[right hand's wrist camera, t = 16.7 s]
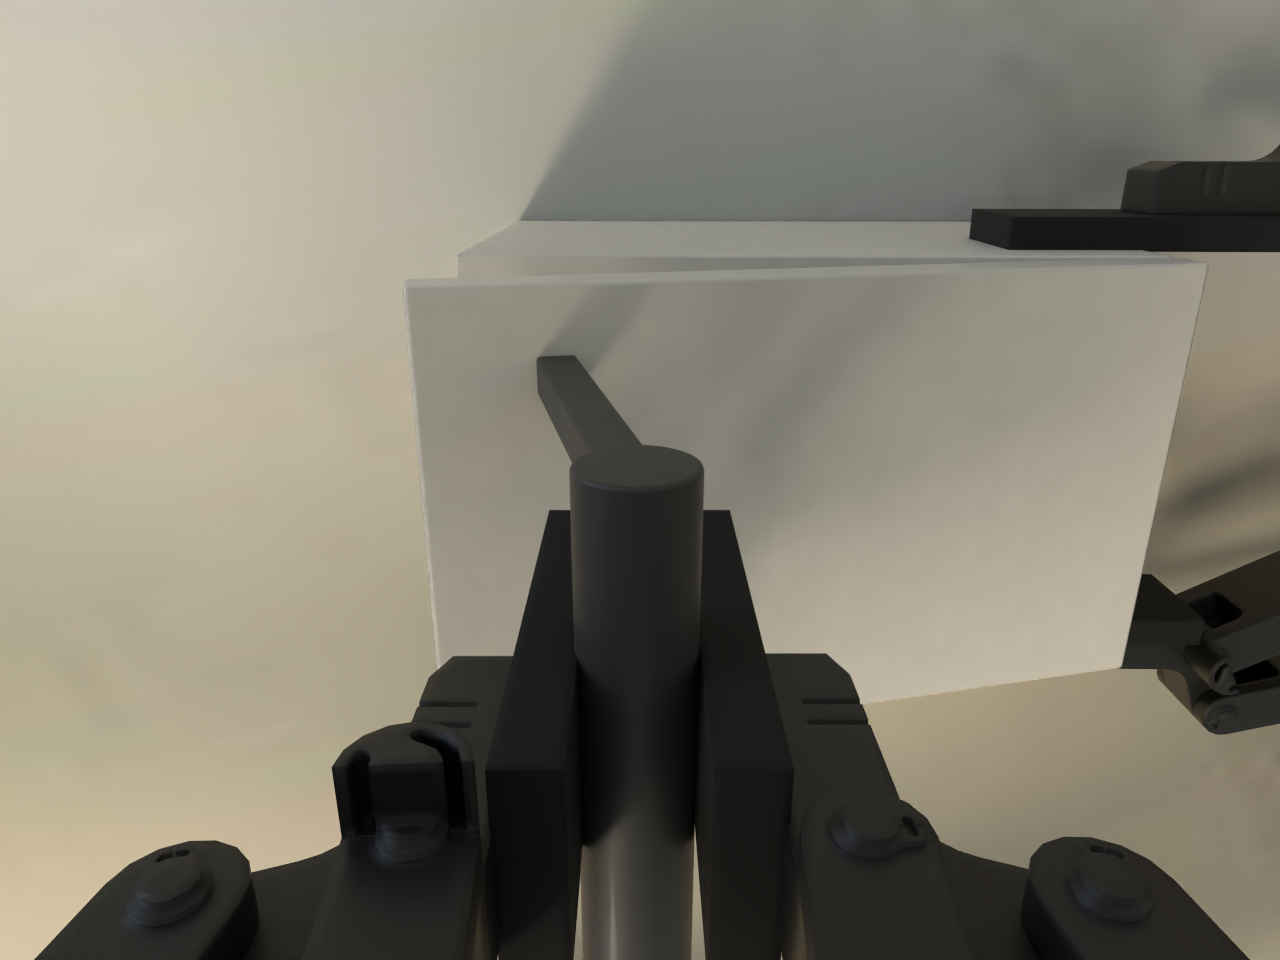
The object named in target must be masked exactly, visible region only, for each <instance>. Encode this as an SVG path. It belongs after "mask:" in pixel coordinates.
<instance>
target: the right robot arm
mask: <svg viewBox="0 0 1280 960" xmlns="http://www.w3.org/2000/svg"><path fill="white" fill-rule="evenodd" d="M332 773H333V780H334V787H335V794H336V801H337V807H338V814H339V821H340V828H341V835H342V839H341V842H340V845H338V846H336V847H334V848H332V849H330V850H328V851H326V852H324V853H322V854H320V855H317V856H314V857H311V858H307V859H304V860H301V861H298V862H294V863H289V864H285V865H281V866H277V867H273V868H269V869H264V870H260V871H256V872H252V873H251V869H250V864H249V861H248V860H247V858H246V857H245V856H244V855H243V854H242V853H241V852H240V850H239V849H238V848H237V847H234V846H231V845H228V844H225V843H222V842H219V841H188V842H184V843H180V844H177V845H173V846H169V847H165V848H162V849H158V850H156V851H154V852H153V853H151V854H149V855H147V856H145V857H143V858H141V859H139V860H137V861H135V862H133V863H131V864H129V865H128V866H127V867H126V868H124V869H123V870H122V871H121V872H120V873H118V874H117V875H116V876H115V877H113V878H112V879H111V880H110V881H109V882H107V883H106V884H105V885H104V886H103V887H102V888H101V889H100V890H99V892H98V893H97V894H96V895H95V896H94V897H93V898H92V899H91V900H90V901H89V902H88V903H87V904H86V905H85V906H84V907H83V909H82V910H81V911H80V912H79V913H78V914H77V915H76V916H75V917H74V918H73V919H72V920H71V921H70V922H69V923H68V924H67V926H66V927H65V928H64V929H63V930H62V931H61V932H60V933H59V934H58V935H57V936H56V937H55V938H54V939H53V940H52V941H51V943H50V944H49V945H48V946H47V947H46V948H45V949H44V950H43V951H42V952H41V953H40V954H39V955H38V956H37V957H36V958H35V959H34V960H497V957H498V958H499V960H573V958H574V945H575V933H576V921H577V908H578V896H579V884H580V871H581V859H582V846H583V840H582V804H581V768H580V732H579V696H578V660H577V657H576V654H575V651H574V623H573V588H572V552H571V517H570V510H549V513H548V517H547V521H546V525H545V529H544V533H543V537H542V541H541V545H540V549H539V553H538V557H537V561H536V565H535V570H534V574H533V578H532V582H531V586H530V590H529V594H528V598H527V602H526V606H525V610H524V614H523V618H522V622H521V626H520V630H519V634H518V638H517V642H516V646H515V650H514V654H513V656H453V657H451V658H450V659H449V660H448V661H447V662H446V663H445V664H444V665H442V666H441V667H440V668H439V669H438V670H437V671H436V672H435V673H434V674H432V675H431V676H430V677H429V679H428V682H427V684H426V687H425V689H424V692H423V694H422V697H421V699H420V702H419V707H417V710H416V712H415V715H414V717H413V720H412V722H410V723H404V724H398V725H391V726H387V727H384V728H382V729H379V730H377V731H374V732H372V733H369V734H367V735H364V736H362V737H361V738H360V739H358V740H357V741H355V742H354V743H353V744H351V745H350V746H348V747H347V748H346V749H344V750H343V752H342V753H341V754H340V756H339V757H338V759H337V760H336V762H335V763H334V765H333V766H332ZM695 832H696V844H697V857H698V869H699V881H700V894H701V906H702V919H703V931H704V943H705V956H706V960H781V952H782V958H783V960H1250V959H1249V958H1248V957H1247V956H1246V955H1245V954H1244V953H1243V952H1242V951H1241V950H1240V949H1239V948H1238V947H1237V946H1236V945H1235V944H1234V943H1233V941H1232V940H1231V939H1230V938H1229V937H1228V936H1227V935H1226V934H1225V933H1224V932H1223V931H1222V930H1221V929H1220V928H1219V927H1218V926H1217V925H1216V924H1215V922H1214V921H1213V920H1212V919H1211V918H1210V917H1209V916H1208V915H1207V914H1206V913H1205V912H1204V911H1203V910H1202V909H1201V908H1200V907H1199V906H1198V905H1197V903H1196V902H1195V901H1194V900H1193V899H1192V898H1191V897H1190V896H1189V895H1188V894H1187V893H1186V892H1185V891H1184V890H1183V889H1182V888H1181V887H1180V886H1179V884H1178V883H1177V882H1176V881H1175V880H1174V879H1172V878H1171V877H1170V876H1169V875H1168V874H1166V873H1165V872H1164V871H1163V870H1161V869H1160V868H1159V867H1158V866H1156V865H1155V864H1154V863H1153V862H1152V861H1150V860H1149V859H1147V858H1145V857H1143V856H1141V855H1139V854H1137V853H1135V852H1133V851H1131V850H1129V849H1127V848H1125V847H1123V846H1121V845H1117V844H1113V843H1110V842H1106V841H1102V840H1099V839H1095V838H1091V837H1062V838H1059V839H1056V840H1053V841H1050V842H1047V843H1044V844H1042V845H1041V846H1040V848H1039V849H1038V850H1037V851H1036V852H1035V853H1034V854H1033V855H1032V857H1031V859H1030V864H1029V869H1026V868H1021V867H1017V866H1013V865H1009V864H1005V863H1000V862H996V861H992V860H988V859H984V858H980V857H977V856H973V855H970V854H967V853H964V852H961V851H958V850H956V849H954V848H952V847H950V846H948V845H946V844H944V843H942V842H940V841H939V838H938V836H937V834H936V833H935V831H934V829H933V828H932V826H931V824H930V823H929V821H928V819H927V818H926V817H925V816H923V815H922V814H921V813H920V812H918V811H917V810H916V809H915V808H914V807H912V806H911V805H910V804H909V803H907V802H905V801H902V800H900V798H899V796H898V793H897V791H896V788H895V786H894V783H893V781H892V778H891V776H890V773H889V771H888V768H887V766H886V763H885V761H884V758H883V756H882V753H881V751H880V748H879V746H878V743H877V741H876V738H875V736H874V733H873V731H872V728H871V726H870V725H868V718H867V716H866V713H865V711H864V708H863V706H862V704H860V698H859V696H858V693H857V691H856V688H855V686H854V683H853V681H852V678H851V675H850V674H849V673H848V672H847V671H846V670H844V669H843V668H842V667H841V666H840V665H839V664H838V663H837V662H835V661H834V660H833V659H832V658H831V657H830V656H829V655H828V654H826V653H765V650H764V646H763V642H762V638H761V634H760V630H759V626H758V621H757V617H756V613H755V609H754V605H753V601H752V597H751V593H750V589H749V585H748V581H747V577H746V573H745V569H744V565H743V561H742V557H741V553H740V549H739V545H738V541H737V537H736V533H735V529H734V525H733V521H732V517H731V512H730V510H703V539H702V575H701V611H700V648H699V684H698V721H697V757H696V793H695Z"/></svg>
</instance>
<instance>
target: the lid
mask: <svg viewBox="0 0 1280 960" xmlns="http://www.w3.org/2000/svg"><path fill="white" fill-rule="evenodd" d="M1207 271H1208V264H1207V263H1205V262H1199V261H1192V260H1185V259H1178V258H1171V257H1157V258H1123V259H1089V260H1055V261H1021V262H987V263H953V264H918V265H884V266H850V267H816V268H782V269H748V270H714V271H679V272H645V273H611V274H577V275H543V276H509V277H475V278H440V279H408V280H406V281H405V283H404V289H403V296H404V307H405V318H406V330H407V341H408V352H409V363H410V374H411V385H412V396H413V407H414V418H415V430H416V441H417V452H418V463H419V474H420V485H421V496H422V507H423V519H424V530H425V541H426V552H427V563H428V574H429V585H430V596H431V607H432V619H433V630H434V641H435V652H436V663H437V670H438V669H439V668H440V667H441V666H442V665H444V664H445V663H446V662H447V661H448V660H449V659H450V658H451V657H453V656H513V654H514V650H515V646H516V642H517V638H518V634H519V630H520V626H521V622H522V618H523V614H524V610H525V606H526V602H527V598H528V594H529V590H530V586H531V582H532V578H533V574H534V570H535V565H536V561H537V557H538V553H539V549H540V545H541V541H542V537H543V533H544V529H545V525H546V521H547V517H548V513H549V510H570V517H571V552H572V588H573V623H574V651H575V654H576V657H577V660H578V696H579V732H580V768H581V804H582V840H583V846H582V859H581V871H580V872H581V907H582V943H583V960H691V939H692V903H693V866H694V830H695V793H696V757H697V721H698V684H699V648H700V611H701V575H702V539H703V510H730V512H731V517H732V521H733V525H734V529H735V533H736V537H737V541H738V545H739V549H740V553H741V557H742V561H743V565H744V569H745V573H746V577H747V581H748V585H749V589H750V593H751V597H752V601H753V605H754V609H755V613H756V617H757V621H758V626H759V630H760V634H761V638H762V642H763V646H764V650H765V653H826V654H828V655H829V656H830V657H831V658H832V659H833V660H834V661H835V662H837V663H838V664H839V665H840V666H841V667H842V668H843V669H844V670H846V671H847V672H848V673H849V674H850V675H851V678H852V681H853V683H854V686H855V688H856V691H857V693H858V696H859V698H860V704H862V705H863V704H870V703H877V702H884V701H891V700H898V699H905V698H912V697H919V696H926V695H933V694H940V693H947V692H954V691H961V690H968V689H975V688H982V687H989V686H996V685H1003V684H1010V683H1017V682H1024V681H1032V680H1039V679H1046V678H1053V677H1060V676H1067V675H1074V674H1081V673H1088V672H1095V671H1102V670H1109V669H1116V668H1120V667H1121V666H1122V663H1123V658H1124V654H1125V649H1126V644H1127V640H1128V635H1129V631H1130V626H1131V621H1132V617H1133V612H1134V608H1135V603H1136V598H1137V594H1138V589H1139V584H1140V580H1141V575H1142V571H1143V566H1144V561H1145V557H1146V552H1147V548H1148V543H1149V538H1150V534H1151V529H1152V525H1153V520H1154V515H1155V511H1156V506H1157V501H1158V497H1159V492H1160V488H1161V483H1162V478H1163V474H1164V469H1165V465H1166V460H1167V455H1168V451H1169V446H1170V441H1171V437H1172V432H1173V428H1174V423H1175V418H1176V414H1177V409H1178V405H1179V400H1180V395H1181V391H1182V386H1183V382H1184V377H1185V372H1186V368H1187V363H1188V358H1189V354H1190V349H1191V345H1192V340H1193V335H1194V331H1195V326H1196V322H1197V317H1198V312H1199V308H1200V303H1201V299H1202V294H1203V289H1204V285H1205V280H1206V275H1207Z"/></svg>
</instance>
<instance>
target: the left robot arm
mask: <svg viewBox="0 0 1280 960" xmlns="http://www.w3.org/2000/svg"><path fill="white" fill-rule="evenodd" d="M969 239H972V240H975V241H979V242H982V243H986V244H989V245H993V246H996V247H1000V248H1003V249H1007V250H1143V251H1148V252H1280V145H1279V146H1278V147H1277V148H1276V149H1275V150H1274V151H1273V152H1272V153H1270V154H1268V155H1267V156H1265V157H1263V158H1261V159H1258V160H1254V161H1149V162H1146V163H1144V164H1141V165H1139V166H1136V167H1134V168H1131V169H1128V171H1127V176H1126V182H1125V188H1124V193H1123V199H1122V204H1121V209H973V210H972V218H971V226H970V234H969ZM1118 669H1157V675H1158V678H1159V680H1160V681H1161V682H1162V683H1163V684H1164V685H1165V686H1166V687H1167V688H1168V689H1169V691H1170V692H1171V693H1172V694H1173V695H1174V696H1175V697H1176V698H1177V699H1178V700H1179V701H1180V702H1181V703H1182V704H1183V705H1184V706H1185V707H1186V708H1187V709H1188V710H1189V712H1190V713H1191V714H1192V715H1193V716H1194V717H1195V718H1196V719H1197V720H1198V721H1199V722H1200V723H1201V724H1202V725H1203V726H1204V727H1205V728H1206V729H1207V730H1208V731H1209V732H1211V733H1214V734H1229V733H1234V732H1239V731H1244V730H1249V729H1254V728H1259V727H1264V726H1269V725H1275V724H1280V551H1277V552H1275V553H1273V554H1270V555H1268V556H1266V557H1263V558H1261V559H1259V560H1256V561H1254V562H1252V563H1249V564H1247V565H1245V566H1242V567H1240V568H1237V569H1235V570H1233V571H1230V572H1228V573H1226V574H1223V575H1221V576H1219V577H1216V578H1214V579H1212V580H1209V581H1207V582H1204V583H1202V584H1200V585H1197V586H1195V587H1193V588H1190V589H1188V590H1186V591H1183V592H1181V593H1179V594H1176V595H1175V594H1174V593H1173V592H1171V591H1170V590H1169V589H1168V588H1167V587H1165V586H1164V585H1163V584H1162V583H1161V582H1160V581H1158V580H1157V579H1156V578H1155V577H1154V576H1153V575H1151V574H1142V575H1141V580H1140V584H1139V589H1138V594H1137V598H1136V603H1135V608H1134V612H1133V617H1132V621H1131V626H1130V631H1129V635H1128V640H1127V644H1126V649H1125V654H1124V658H1123V663H1122V666H1121V667H1120V668H1118Z"/></svg>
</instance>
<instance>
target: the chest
mask: <svg viewBox="0 0 1280 960" xmlns="http://www.w3.org/2000/svg"><path fill="white" fill-rule="evenodd" d="M970 226H971V222H933V221H518V222H516V223H514V224H512V225H510V226H509V227H507V228H505V229H503V230H501V231H500V232H498V233H496V234H494V235H492V236H491V237H489V238H487V239H485V240H483V241H482V242H480V243H478V244H476V245H474V246H473V247H471V248H469V249H467V250H465V251H464V252H462V253H460V254H458V255H457V256H456V264H457V278H475V277H509V276H543V275H577V274H611V273H645V272H679V271H714V270H748V269H782V268H816V267H850V266H884V265H918V264H953V263H987V262H1021V261H1055V260H1089V259H1123V258H1157V257H1171V256H1167V255H1162V254H1158V253H1153V252H1148V251H1143V250H1007V249H1003V248H1000V247H996V246H993V245H989V244H986V243H982V242H979V241H975V240H972V239H969V234H970ZM1171 258H1172V257H1171Z"/></svg>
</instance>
